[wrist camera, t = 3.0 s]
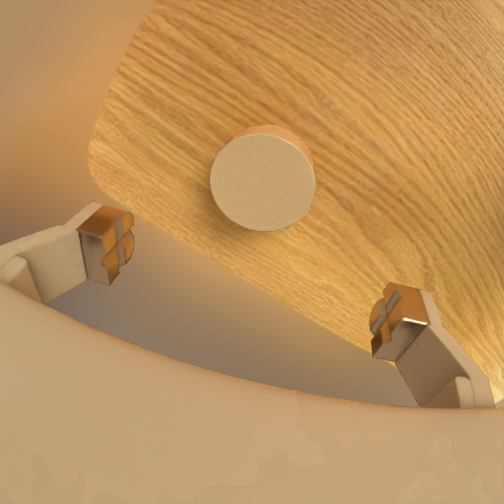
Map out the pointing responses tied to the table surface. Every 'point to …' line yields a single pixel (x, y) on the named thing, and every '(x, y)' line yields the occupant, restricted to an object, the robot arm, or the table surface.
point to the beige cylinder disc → (264, 178)
